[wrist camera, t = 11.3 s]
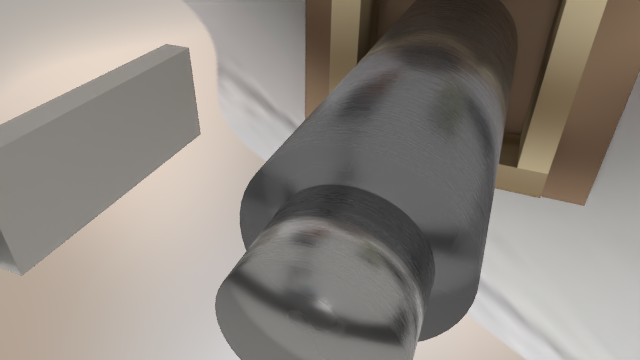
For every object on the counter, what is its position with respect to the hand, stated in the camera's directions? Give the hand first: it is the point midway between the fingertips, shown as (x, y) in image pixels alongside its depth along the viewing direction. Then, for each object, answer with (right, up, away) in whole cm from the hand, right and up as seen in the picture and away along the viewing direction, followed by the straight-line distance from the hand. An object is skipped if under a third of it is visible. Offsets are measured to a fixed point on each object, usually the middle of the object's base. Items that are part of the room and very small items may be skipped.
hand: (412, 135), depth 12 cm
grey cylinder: (+3, +4, +6) cm, 7 cm away
